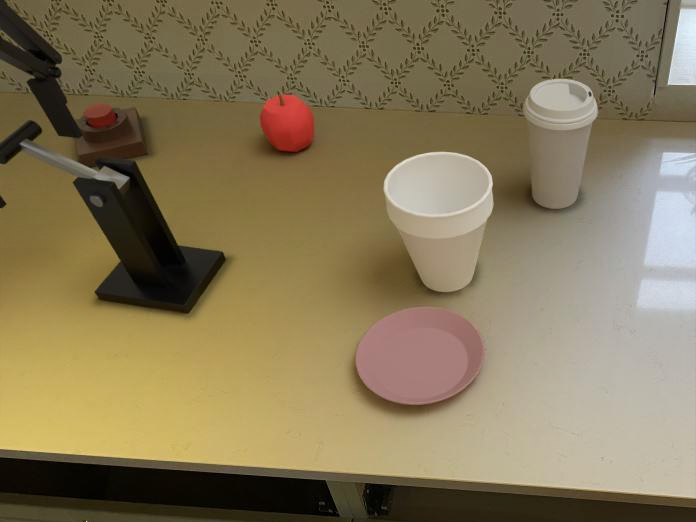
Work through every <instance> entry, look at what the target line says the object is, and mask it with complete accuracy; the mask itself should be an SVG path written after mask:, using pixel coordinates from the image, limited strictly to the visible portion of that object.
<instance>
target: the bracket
mask: <svg viewBox="0 0 696 522" xmlns="http://www.w3.org/2000/svg"><path fill="white" fill-rule="evenodd" d="M95 163H96V165H97V166H96V167H97V168H98V171H100V170H101V169H102V168H103V167H104V166H106V167H108V168H110V169H112V170H114V171H116V172H119V173H121V174H123V175H125V176H127V177H129V178H130V194H129V195H128V196H127V197H126V198H125V199H124V198H123V196H122V194H121V193H120V191H119V189H118V187H117V185H116V184H115V182H112V181H104V180H96V179H88V178H81V177H77V176H76V178H75V179H74V180H73V181H72V184H73V186H74V187H75V190H76V191H77V192H78V194H79V196H80V197H81V199H82V201H83V202H84V204H85V206H86V207H87V209H88V211H89V212H90V214H91V215H92V217H93V218H94V221H95V222H96V223H97V225H98V227H99V228H100V230H101V231H102V233H103V235H104V237H105V238H106V240H107V241H108V243H109V244H110V247H111V248H112V250H113V251H114V253H115V254H116V256H117V257H118V259H119V262H118V263H117V265H116V266H114V268H113V269H112V270H111V271H110V273H109V274H108V275H107V276H106V277H105V278H104V279H103V281H102V282H101V283H100V284H99V286H98V287H97V288H96V289H95V290H94V294H95V295H96V297H97V298H98V299H99V301H105V302H111V303H112V302H113V303H117V304H124V305H131V306H138V307H143V308H149V309H150V308H151V309H157V310H161V311H170V312H174V313H175V312H176V313H184V314H189V313H190V312H191V311H192V309H193V308H194V306H195V305H196V304H197V302H198V301H199V299H200V298H201V297H202V295H203V294H204V293H205V291H206V289H207V288H208V286H209V285H210V284H211V282H212V280H213V279H214V278H215V277H216V275H217V274H218V272H219V270H220V269H221V268H222V267H223V265H224V264H225V262H226V260H227V258H226V256H225V253H224V252H223V250H215V249H207V248H199V247H193V246H186V245H180V244H178V242H177V241H176V240H177V239H176V238H175V236H174V235H173V232H172V230H171V229H170V227H169V225H168V223H167V220H166V219H165V216H164V214H163V213H162V211H161V209H160V206H159V205H158V203H157V200H156V198H155V197H154V195H153V193H152V191H151V189H150V187H149V185H148V183H147V181H146V180H145V177H144V176H143V174H142V171H141V169H140V167H139V166H138V163H137V162H136V160H132V159H117V158H109V157H101V156H99V157H98V158H97V159H96V160H95Z"/></svg>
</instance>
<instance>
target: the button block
mask: <svg viewBox="0 0 696 522" xmlns="http://www.w3.org/2000/svg"><path fill="white" fill-rule="evenodd" d="M112 109H113V111H114V113H115V115H116V117H117V119H116V121H115V122H113V123H111V124H109V125H107V126H103V127H91V126H90V125H89V124H88V122H87V120H86V118H85V116H84V114H83V115H82V116H81V117H80V118H74V120H75V122H76V123H77V125H78V127H79V129H80V130H81V132H82V134H83V135H82V136H81V137H80V138H76V148H77V157H78V159H79V160H80V162H81V164H82V165H85V166H87V167H89V168H93V167H97V165H96V163H95V160H96V159H97V158H98V157H99V156H101V157H109V158H117V159H126V160H129V159H131V158H135V157H140V156H145V155H148V154H149V153H148V148H147V142H146V138H145V132H144V128H143V122H142V118H141V116H140V114H139V112H138V110H137V108H136V106H132V107H128V108H123V109H122V108H119V107H112Z"/></svg>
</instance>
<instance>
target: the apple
mask: <svg viewBox="0 0 696 522" xmlns="http://www.w3.org/2000/svg"><path fill="white" fill-rule="evenodd" d="M259 122H260V128H261V130H262V131H263V133H264V135H265V137H266V139H267V140H268V142H269V144H270V145H272V146H273V147H274V148H275V149H276V150H278V151H281V152H287V153H298V152H300V151H302V150H305V149H306V148H307V147H308V146H310V145H312V143H313V142H312V141H313V139H314V137H315V116H314V115H313V112H312V110H311V108H310V106H308V105H307V104H306V103H305V102H304V101H302V100H301V99H300V98H299V97H298V96H296V95H294V94H278V95H275V96H273V97H271V98H267V99H266V101H265V103H264V105H263V107H262V109H261V112H260V115H259Z"/></svg>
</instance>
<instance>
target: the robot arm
mask: <svg viewBox="0 0 696 522" xmlns="http://www.w3.org/2000/svg"><path fill="white" fill-rule="evenodd" d="M0 30H1V31H2V32H3V33H4V34H6V35H7V37H9V39H11V40H12V41H14V43H16V45H15V44H13V43H12V42H9V41H8V40H7V39H4V38H3V36H2V35H1V34H0V60H1V61H3V62H5V63H6V64H8V65H11V66H12V67H14V68H16V69H18V70H20V71H22V72H23V73H25V74H27V75H29V76H32V77H30V78H29V79H28V80H26V81H25V82H26V84H27V86H28V88H29V89H30V90H31V92H32V95H34V97H35V99H36V100H37V102H38V104H39V106H40V108H41V109H42V111H43V112H44V114H45V116H46V117H47V119H48V121H49V122H50V124H51V126H52V127H53V129H54V131H55V132H56V135H57V136H58V137H64V138H72V139H77V138H80V137H81V136H82V135H83V134H82V132H81V130H80V129H79V127H78V125H77V123H76V122H75V118H74V115H72V112H71V111H70V109H69V107H68V106H67V104H68V99H67V96H66V95H65V93H64V91H63V89H62V87H61V86H60V84H59V81H58V80H57V79H60V78H61V77H62V76H63V75H62V74H63V73H62V70H61V68H60V67H58V66H57V65H60V64H62V62H63V57H62V54H61V53H60V52H58V51H57V49H55V47H53V45H51V44H50V43H49V42H48V41H47V40H46V39H45V38H44V37H43V36H41V34H40V33H39V32H38V31H36V30H35V29H34V28H33V27H32V26H31V25H30V24H29V23H28V22H27V21H26V20H25V19H24V18H22V16H20V15H19V14H18V13H17V12H16V11H15V10H14V9H13V8H12V7H11V6H9V5H8V3H7V2H6V0H0ZM17 45H18V46H19V47H18V46H17ZM33 77H34V78H33ZM6 205H7V202H6V201H5V200H4V198H3V197H2V195H0V209H3V208H5V207H6Z"/></svg>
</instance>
